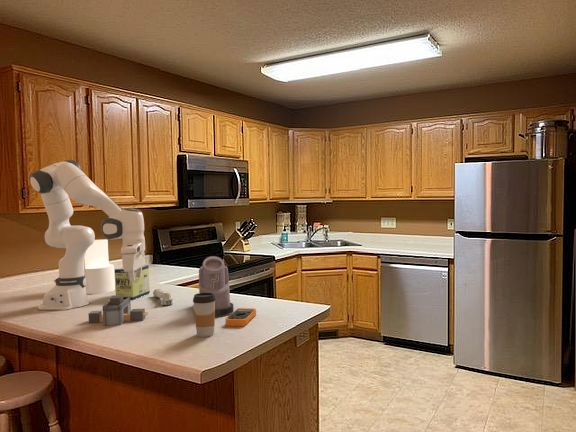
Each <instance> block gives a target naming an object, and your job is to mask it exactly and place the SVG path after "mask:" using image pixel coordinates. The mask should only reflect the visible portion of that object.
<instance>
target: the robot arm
mask: <svg viewBox="0 0 576 432" xmlns="http://www.w3.org/2000/svg"><path fill="white" fill-rule="evenodd" d="M29 183H30V185H31V187H32V189H33V190H34V191H35V192H36V193H38V194H40V196H41V200H42V203H43V205H44V208H45V212H46V214H47V216H48V218H47V219H48V228H47V230H45V232H44V241H45V244H47V245H48V246H49V247H53V248H57V249H66V250H65V254H64V255H63V257H62V258H60V260H59V261H58V275H59V276H58V277H57V278H55V279H53V281H54V282H53V283H55V285H54V286H53V287H52V288H50V289H49V290H48V291H47V292H46V293H45V294H44V295H43V298H42V303H41V304H39V305H38V306H37V310H40V311H42V310H44V311H45V310H47V311H48V310H50V311H51V310H52V311H53V310H56V311H58V310H60V311H61V310H62V311H64V310H65V311H66V310H70V309H71V310H72V309H75V308H79V307H84V306H87V305H89V304H90V301H89V298H88V294H87V293H86V288H85V286H86V278H85V275H84V258H85V254H86V251H87V249H88V248H89V247H90V246H91V245H92V244H93V242H94V240H96V235H95V231H94V230H93V228H91V227H89V226H86V225H85V226H84V225H71V223H70V218H71V217H72V216H73V214H74V208H73V205H72V202H71V200H73V201H74V202H76V203H77V204H80V205H84V206H85V205H87V206H90V207H94V208H97V209H100V210H101V211H103V212H104V213H105V214H106V215H107V216H108V217H106V218H104V219H103V220H102V221H101V224H100V232H101V234H102V236H103V237H104V238H105V239H108V240H120V239H122V246H121V248H120V255H121V254H122V255H121V260H122V267H123V269H124V272H128V275H129V278H130V282H134V281H135V277H134V271H135V270H137V273H136V278H140V277H141V271H142V266H144V265H146V256H145V255H146V254H145V251H146V240H145V239H146V238H145V235H144V234H145V221H144V220H145V219H144V214H143V212H142V211H141V210H140V209H137V208H133V207H132V208H131V207H129V208H126V207H125V208H122V207H121V205H119V204H118V203H117V202H115V201H114V199H112V198H111V197H110V196H109V195H108V194H107V193H106V192H104V191H103V190H102V189H101V188H100V187H98V186H97V185H96V184H95V182H93V181H92V180H91V179H90V178H89V177H88V176H87V175H86V173H84V172H83V170H82V167H81V165H80V164H79V162H77V161H75V159H66V160H63V161H60V162H56V163H55V162H54V163H52V164H49V165H48V166H45V167H43V168H41V169H37V170H35V171H34V172H32V173H31V174H30V175H29Z"/></svg>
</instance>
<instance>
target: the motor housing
mask: <svg viewBox="0 0 576 432" xmlns="http://www.w3.org/2000/svg"><path fill="white" fill-rule="evenodd" d="M131 310H132V307H131V300H130V297H128V298H127V299H126V300H123V295H120V296H116V295H113V296H111V297H110V298H109V301H108V302H106V303H105V304H104V305H103V306H102V315H103V322H102V323H103V324H102V325H103V326H104V327H106V326H112V325H113V326H115V325H118V326H121V325H123V324H124V322H125V321H124V314H130V311H131Z"/></svg>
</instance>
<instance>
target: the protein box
mask: <svg viewBox="0 0 576 432" xmlns="http://www.w3.org/2000/svg"><path fill="white" fill-rule="evenodd" d="M136 273H137V270H135V271H134V277H135V281H134V282H130V278H129V275H128V272H124V269H123V266H122V267H119V268H114V277H115V290H114V291H115V296H120V295H123V299H124V300H126V299H127V298H128V297H130V301H134V300H137V299H139V298H142V297H145V296H147V295H149V293H151V292H150V269H149V265H148V264H145V265H144V266H142V271H141V277H140V278H136ZM144 295H145V296H144ZM141 296H142V297H141ZM136 298H137V299H136Z"/></svg>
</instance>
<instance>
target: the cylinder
mask: <svg viewBox="0 0 576 432" xmlns="http://www.w3.org/2000/svg"><path fill="white" fill-rule="evenodd" d="M109 257H110V256H109V239H107V238H105V239H95V240H94V242H93V244H92V245H91V246H90V247H89V248H88V249H87V251H86V254H85V258H84V275H85V278H86V286H85V288H86V293H87V295H98V294H105V293H109V292H113V291H116V290H115V271H114V270H115V265H114V264H113V263H109V262H110V260H109Z"/></svg>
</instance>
